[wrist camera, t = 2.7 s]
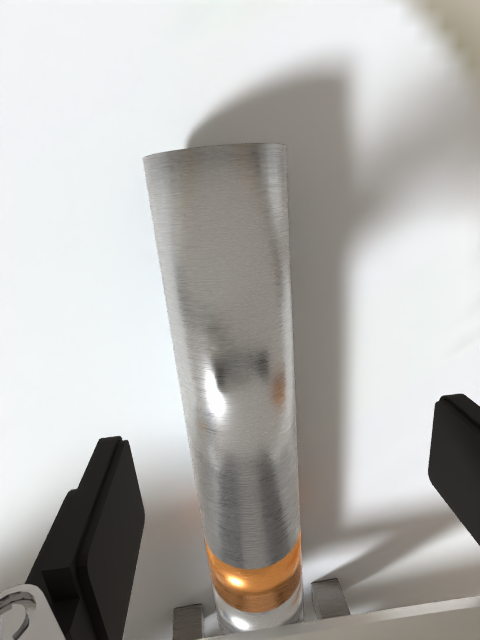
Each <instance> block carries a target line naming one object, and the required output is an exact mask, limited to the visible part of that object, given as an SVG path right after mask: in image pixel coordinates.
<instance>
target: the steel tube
mask: <svg viewBox="0 0 480 640" xmlns="http://www.w3.org/2000/svg"><path fill="white" fill-rule="evenodd" d="M143 165H144V171H145V177H146V183H147V189H148V195H149V201H150V207H151V214H152V220H153V226H154V232H155V238H156V244H157V250H158V256H159V263H160V269H161V275H162V281H163V287H164V293H165V299H166V306H167V312H168V318H169V324H170V330H171V336H172V342H173V348H174V355H175V361H176V367H177V373H178V379H179V385H180V391H181V397H182V404H183V410H184V416H185V422H186V428H187V434H188V440H189V446H190V453H191V459H192V465H193V471H194V477H195V483H196V489H197V495H198V502H199V508H200V514H201V520H202V526H203V532H204V538H205V545H206V551H207V557H208V563H209V569H210V575H211V581H212V587H213V594H214V600H215V606H216V612H217V618H218V623H219V626H220V629H221V631H222V633H223V635H228V634H234V633H240V632H246V631H253V630H259V629H265V628H271V627H278V626H284V625H290V624H296V623H302V621H303V614H304V605H303V579H302V554H301V528H300V502H299V476H298V450H297V424H296V398H295V372H294V346H293V320H292V294H291V268H290V243H289V217H288V191H287V165H286V145H284V144H276V143H250V144H231V145H218V146H207V147H197V148H189V149H181V150H174V151H167V152H162V153H157V154H152V155H148V156H145V157H143Z"/></svg>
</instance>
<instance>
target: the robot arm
mask: <svg viewBox="0 0 480 640" xmlns="http://www.w3.org/2000/svg"><path fill="white" fill-rule="evenodd" d="M428 475H429V479H430V481H431V483H432V485H433V486H434V487H435V489H436V490H437V491H438V492H439V494H440V495H441V496H442V498H443V499H444V500H445V502H446V503H447V504H448V505H449V507H450V508H451V509H452V511H453V512H454V513H455V514H456V516H457V517H458V518H459V520H460V521H461V522H462V524H463V525H464V526H465V527H466V529H467V530H468V531H469V533H470V534H471V535H472V536H473V538H474V539H475V540H476V542H477V543H478V544H479V546H480V406H478V405H477V404H476V403H475V402H473V401H472V400H471V399H469V398H468V397H467V396H466V395H464V394H453V395H445V396H442V397H441V398H440V400H439V401H438V402H436V403H435V409H434V419H433V428H432V438H431V448H430V457H429V467H428ZM144 521H145V513H144V507H143V502H142V498H141V494H140V489H139V485H138V480H137V476H136V471H135V467H134V463H133V458H132V454H131V449H130V445H129V442H128V440H124V441H123V440H122V438H121V436H115V437H107V438H101V439H99V441H98V443H97V445H96V447H95V450H94V452H93V454H92V457H91V459H90V461H89V463H88V466H87V468H86V470H85V472H84V475H83V477H82V479H81V481H80V484H79V486H78V488H77V489H74V490H71V491H69V492H68V494H67V495H66V497H65V499H64V501H63V503H62V505H61V508H60V510H59V512H58V514H57V516H56V518H55V520H54V523H53V525H52V527H51V529H50V531H49V533H48V535H47V537H46V540H45V542H44V544H43V546H42V548H41V550H40V552H39V555H38V557H37V559H36V561H35V563H34V565H33V567H32V569H31V572H30V574H29V576H28V578H27V580H26V582H25V584H22V585H17V586H14V587H11V588H8V589H6V590H4V591H2V592H1V593H0V640H122V637H123V632H124V626H125V621H126V616H127V611H128V606H129V600H130V595H131V590H132V585H133V580H134V574H135V569H136V564H137V559H138V553H139V548H140V543H141V538H142V533H143V527H144ZM197 640H480V596H474V597H467V598H460V599H453V600H446V601H439V602H433V603H426V604H420V605H413V606H406V607H400V608H393V609H387V610H380V611H374V612H367V613H361V614H354V615H348V616H341V617H335V618H328V619H322V620H315V621H309V622H303V623H296V624H290V625H284V626H278V627H271V628H265V629H259V630H253V631H246V632H240V633H234V634H228V635H221V636H215V637H209V638H203V639H197Z"/></svg>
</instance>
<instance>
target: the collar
mask: <svg viewBox="0 0 480 640" xmlns="http://www.w3.org/2000/svg"><path fill="white" fill-rule="evenodd" d="M312 601H313V604H314V608H315V611H316V615H317V618H318V620H322V619H328V618H335V617H341V616H348V615H351V614H350V612H349V609H348V606H347V603H346V601H345V598H344V595H343V593H342V590H341V587H340V585H339V582H338V579H332V580H327V581H322V582H316V583H312ZM203 638H205V633H204V616H203V610H202V605H201V604H197V605H192V606H187V607H181V608H176V609H174V619H173V640H197V639H203Z"/></svg>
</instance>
